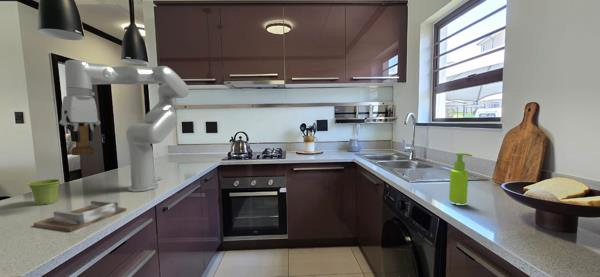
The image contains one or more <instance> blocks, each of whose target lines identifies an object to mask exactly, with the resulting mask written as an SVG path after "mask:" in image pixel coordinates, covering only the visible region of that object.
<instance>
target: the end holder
mask: <svg viewBox="0 0 600 277" xmlns="http://www.w3.org/2000/svg"><path fill="white" fill-rule="evenodd" d="M126 211H127V208H126V207H121V206H119V203H118V201H117V202H116V201H106V200H97V199H93V200H91V201H90V205H87V206H84V207H82V208H80V207H79V208H78V209H73V210H71V211H64V210H56V211H53V216H52V217H49V218H46V219H42V220H40V221H39V220H38V221H35V222H33V227H38V228H42V229H49V230H57V231H63V232H69V233H70V232H71V233H72V232H74V231H77V230H79V229H82V228H84V227H87V226H89V225H93V224H96V223H98V222H100V221H103V220H105V219H108V218H111V217H113V216H117V215H119V214H122V213H124V212H126Z"/></svg>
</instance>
